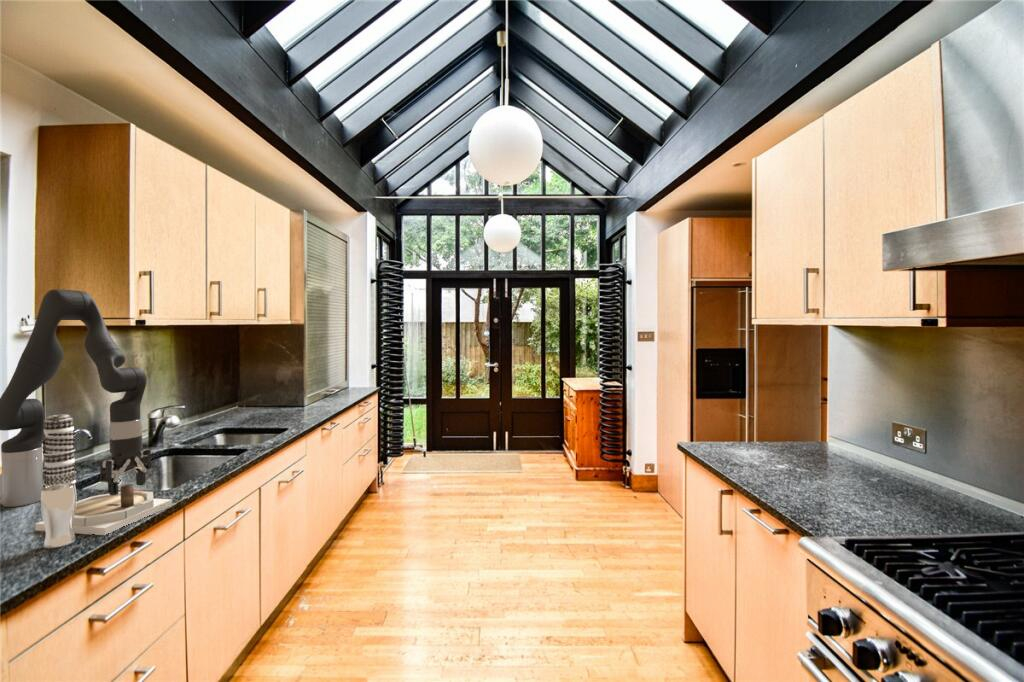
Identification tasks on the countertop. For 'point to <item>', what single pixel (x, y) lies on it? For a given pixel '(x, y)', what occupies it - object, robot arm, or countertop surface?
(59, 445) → the decorative candle
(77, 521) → the dial housing
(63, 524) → the beer glass
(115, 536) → the countertop surface
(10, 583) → the countertop surface
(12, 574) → the countertop surface
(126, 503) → the dial
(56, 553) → the countertop surface
